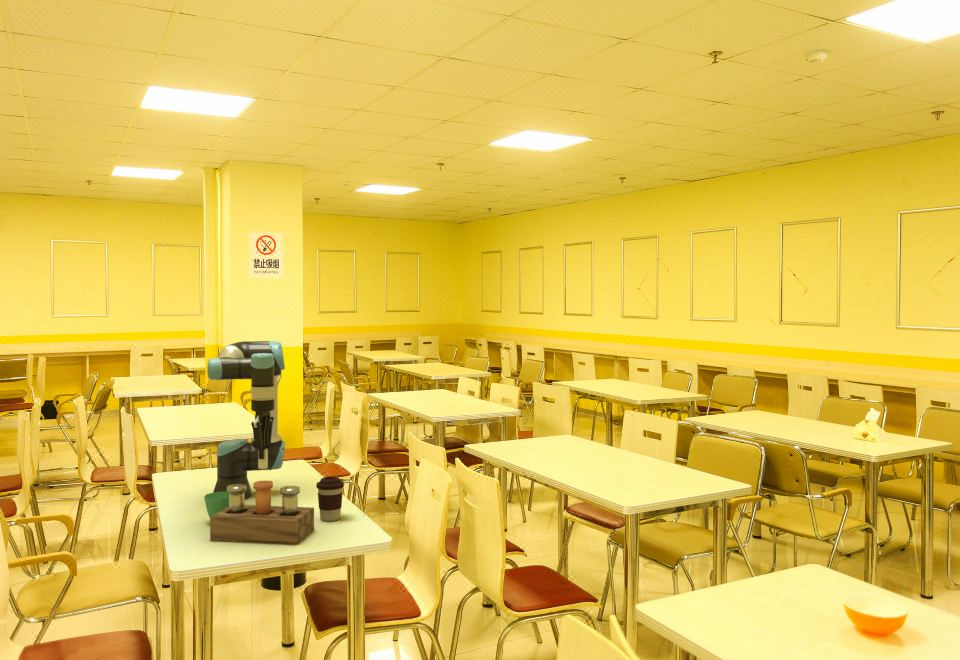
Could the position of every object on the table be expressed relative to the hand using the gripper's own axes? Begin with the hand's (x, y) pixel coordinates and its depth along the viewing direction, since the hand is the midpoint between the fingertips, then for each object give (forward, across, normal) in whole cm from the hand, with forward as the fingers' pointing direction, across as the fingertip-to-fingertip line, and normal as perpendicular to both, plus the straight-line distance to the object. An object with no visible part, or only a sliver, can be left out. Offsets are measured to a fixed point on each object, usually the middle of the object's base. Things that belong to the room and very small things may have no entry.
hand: (263, 468), depth 245 cm
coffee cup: (+23, -22, +16) cm, 36 cm away
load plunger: (+16, 0, 0) cm, 16 cm away
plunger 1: (+17, 0, -10) cm, 20 cm away
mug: (+23, -14, -21) cm, 34 cm away
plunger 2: (+17, 0, +9) cm, 20 cm away
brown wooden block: (+23, 0, 0) cm, 23 cm away
